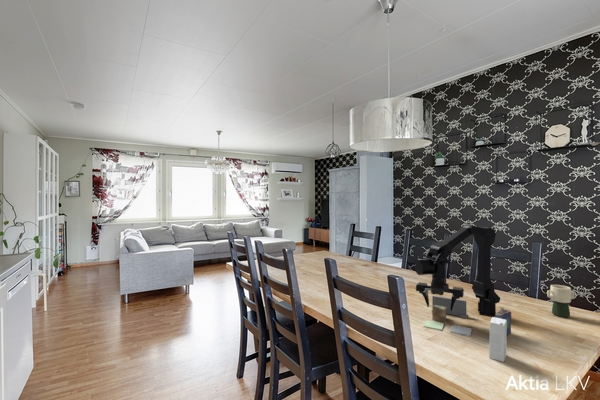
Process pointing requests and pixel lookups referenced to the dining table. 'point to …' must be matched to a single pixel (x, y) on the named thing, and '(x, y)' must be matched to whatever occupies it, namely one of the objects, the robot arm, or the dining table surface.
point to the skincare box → (498, 339)
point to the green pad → (433, 325)
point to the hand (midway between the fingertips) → (439, 308)
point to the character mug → (560, 299)
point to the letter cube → (439, 313)
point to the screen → (458, 306)
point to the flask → (507, 316)
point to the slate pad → (461, 330)
